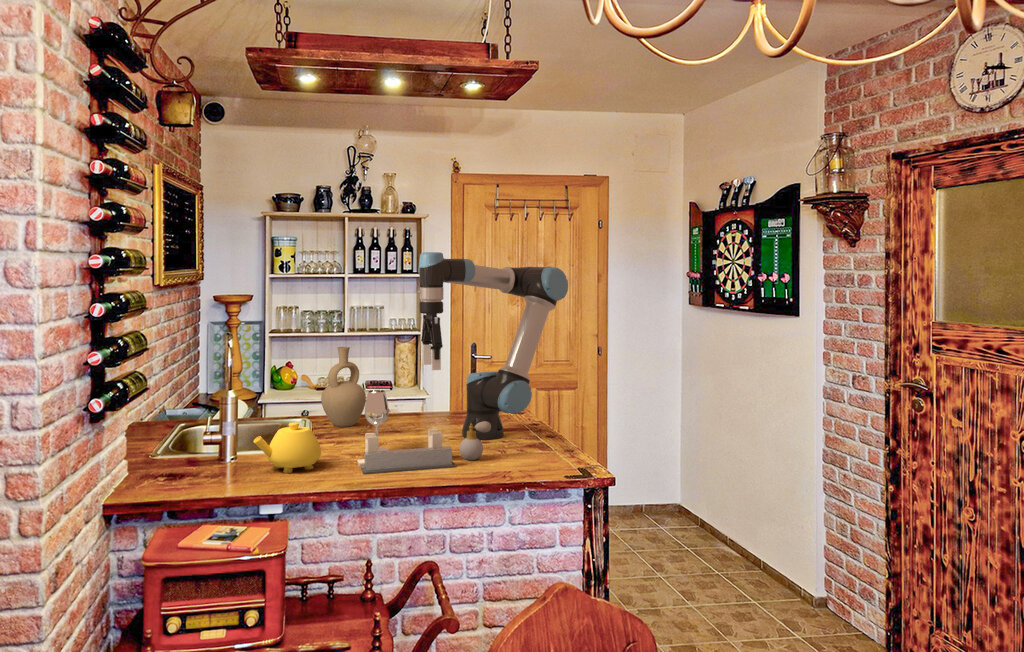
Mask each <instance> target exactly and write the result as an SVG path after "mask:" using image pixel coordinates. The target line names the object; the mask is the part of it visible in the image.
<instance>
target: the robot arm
mask: <svg viewBox="0 0 1024 652" xmlns="http://www.w3.org/2000/svg"><path fill="white" fill-rule="evenodd" d="M418 261H419V264H418V271H417V272H418V275H419V276H418V277H419V290H418V291H417V293H418V294H419V300H420V302H419V313H420V314H423V316H422V320H423V321H422V329H421V339H420V341H421V343H422V365H423V366H427V365H428V366H429V365H431V370H432V371H441V368H442V367H441V366H442V362H441V361H442V360H441V359H442V357H441V356H442V355H441V351H442V349H443V339H442V329H441V318H440V316H438V314H439V315H440V314H443V313H444V302H443V300H444V283H447V284H455V285H462V286H470V287H477V288H485V289H491V290H492V289H493V290H499V292H501V293H503V294H507V295H508V294H509V295H513V296H517V297H521V298H523V300H524V301H525V306H524V309H523V312H522V315H521V318H520V321H519V324H518V327H517V328H516V332H515V335H514V339H513V340H512V345H511V347H510V349H509V352H508V355H507V359H506V361H505V364H504V366H503V367H500V368H499V369H498V370H495V371H483V372H481V371H479V372H472V373H469V374H468V375H467V377H466V416H465V419H464V422H463V424H462V429H461V436H462V438H464V439H465V438H466V437H467V431H469V430H470V429H469V426H470V424H471V423H472V424H473V425H472V426H473V427H474V426H475V425H476V424H478V423H480V422H483V421H486V422H489V423H490V424H491V429H490V431H488V432H480V431H477V430H476V429H475V428H473V431H476V437H477V438H478V439H479V440H480V441H482V440H496V439H500V438H503V437H504V435H505V431H504V426H503V422H502V419H501V416H500V412H502V413H505V414H520V413H521V412H523V411H525V410H526V409H527V408H528V406H529V404H530V402H531V400H532V398H533V397H532V396H533V393H532V388H531V385H530V382H531V379H530V376H529V371H530V368H531V365H532V364H533V361H534V357H535V354H536V351H537V348H538V345H539V343H540V339H541V337H542V334H543V330H544V328H545V325H546V322H547V318H548V316H549V313H550V312H551V311H554V310H555V309H556V305H557V303H558V302H559V301H561V300H562V299H564V298H565V297H566V296H567V294H568V291H569V280H568V279H567V275H566V274H565V272H564V271H563V270H562V269H561V268H559V267H555V266H521V267H510V266H505V267H503V268H499V267H492V266H491V267H490V266H487V265H486V266H485V265H484V266H483V265H480V264H479V265H478V264H475V263H474V261H473V260H471V259H470V258H469V259H468V258H444V254H443V252H438V251H437V252H435V251H434V252H430V251H429V252H428V251H427V252H425V251H424V252H423V251H422V252H421V253H420V254H419V260H418Z"/></svg>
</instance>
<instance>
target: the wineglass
mask: <svg viewBox="0 0 1024 652" xmlns="http://www.w3.org/2000/svg"><path fill="white" fill-rule="evenodd" d="M389 411H390V409H389V403H388V398H387V394H386V391H385V390H383V389H372V390H371V389H370V390H368V391H367V396H366V403H365V407H364V417H365V420H366V421H367V422H368V423H369V424H371V425H372V426H374V427H375V437H376V436H378V437H379V428H380V427H379V426H381V425H383V424H384V423H385V422H386V421H387V419H388V417H389V416H390V415H389V413H390V412H389ZM386 450H389V448H386V447H381V446H380V445H379V444H378V451H386Z"/></svg>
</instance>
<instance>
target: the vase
mask: <svg viewBox="0 0 1024 652" xmlns="http://www.w3.org/2000/svg"><path fill="white" fill-rule="evenodd" d="M350 348H351V347H349V346H338V347H337V353H338V363H336V364H334V365H333V366H332V367H331V368H330V370H329V371H328V374H327V375H328V376H327V381H328V383H329V385H328V386H326V387H325V389H323V391H322V393H321V397H320V401H321V405H322V409H323V411H324V413H325V415H326V417H327V418H328V420H329V421H330V423H331V424H333V426H335V427H338V428H347V427H348V428H349V427H351V426H355V425H356V424H357V423H358V422H359V420H360V419H361V416H362V414H363V412H364V411H365V404H366V399H367V396H366V392H365V389H364V388H363V387H362V386H361V385H360V384H358V381H359V379H360V369H359V367H358V366H357V365H356V364H355V363H354V362H351V361H349V354H350V353H349V352H350ZM346 368H347V369H349V371H350V376H349V379H348V381H344V380H342V381H338V375H339V372H340V371H342V370H343V369H346Z"/></svg>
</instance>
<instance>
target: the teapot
mask: <svg viewBox="0 0 1024 652" xmlns="http://www.w3.org/2000/svg"><path fill="white" fill-rule="evenodd" d="M253 443H254V444H255V445H256V446H257V447H258V448H259V449H260V450H261V451H262V453H264V454H265V455H266V456H267V459H268V461H269V462H270V463H271V464H272V466H275V468H276V469H283V471H282V473H284V474H291V473H293V470H294V468H304V470H306V469H312V470H314V469H315V466H313V465H314V464H316V463H317V462H318V460H319V459H320V458H321V456H322V450H321V449H322V448H321V446H320V443H319V440H318V439H317V437H316V435H315V434H314V432H313V430H311V428H310V427H307V426H301V425H300V423H299V422H295V421H294V422H289V423H288V426H287V427H282V428H279V429H278V430H277V432H276V433H275V434H274V436H273V438H272V440H271V441H270V443H269V444H268V442H266V441H265V440H264V438H263V437H262V436H259V435H258V436H256V438H254V440H253ZM313 468H314V469H313Z"/></svg>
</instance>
